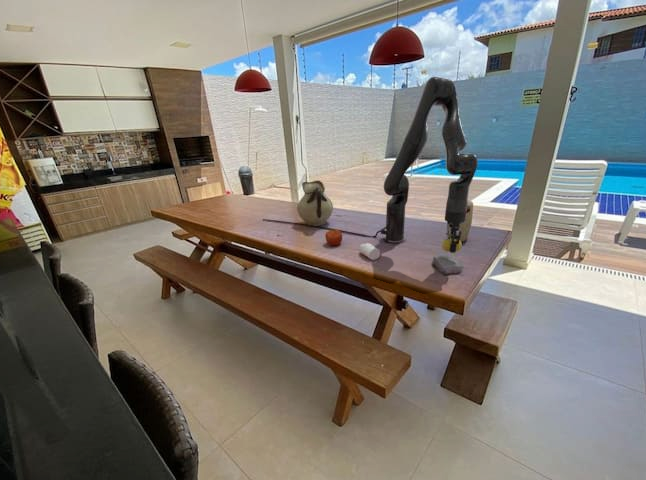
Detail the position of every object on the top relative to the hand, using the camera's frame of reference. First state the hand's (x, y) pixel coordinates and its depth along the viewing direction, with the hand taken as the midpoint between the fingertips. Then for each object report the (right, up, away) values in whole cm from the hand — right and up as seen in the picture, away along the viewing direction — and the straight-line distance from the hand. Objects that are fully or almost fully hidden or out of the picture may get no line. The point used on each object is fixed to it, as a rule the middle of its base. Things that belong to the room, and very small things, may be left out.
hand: (451, 249), depth 125 cm
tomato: (-47, +5, +35) cm, 59 cm away
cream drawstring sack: (-57, +20, +69) cm, 92 cm away
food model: (+17, +6, +30) cm, 35 cm away
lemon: (0, -1, 0) cm, 1 cm away
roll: (-31, -2, +20) cm, 37 cm away
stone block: (0, -8, +4) cm, 9 cm away
